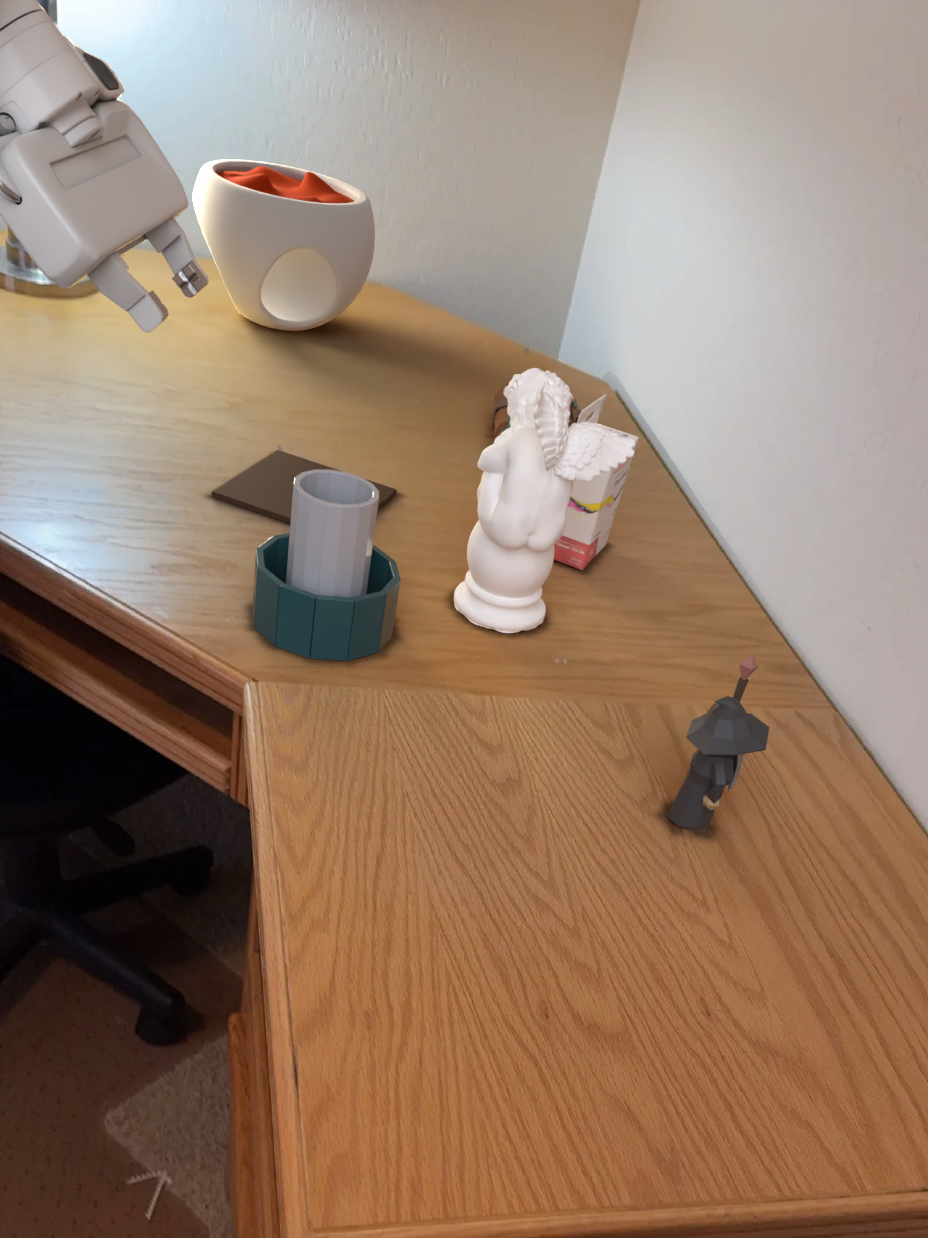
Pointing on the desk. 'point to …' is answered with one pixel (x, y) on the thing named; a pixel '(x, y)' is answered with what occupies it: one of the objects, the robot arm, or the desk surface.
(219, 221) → the pot
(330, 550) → the cup
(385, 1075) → the desk surface
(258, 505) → the mat
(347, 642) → the teal faceted ring
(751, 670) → the wizard figurine
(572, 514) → the ink cartridge box
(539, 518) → the cherub figurine
